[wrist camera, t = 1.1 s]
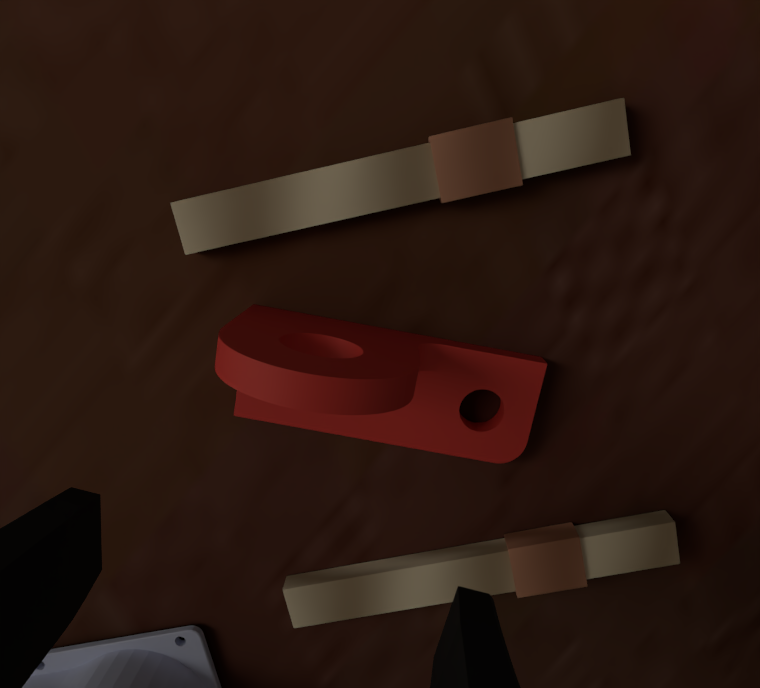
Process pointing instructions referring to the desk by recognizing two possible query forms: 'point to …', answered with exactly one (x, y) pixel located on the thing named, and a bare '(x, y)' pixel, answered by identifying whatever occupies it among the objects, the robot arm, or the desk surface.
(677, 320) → the desk surface
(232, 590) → the desk surface
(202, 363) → the desk surface
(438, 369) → the bracket
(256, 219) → the guide track
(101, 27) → the desk surface
